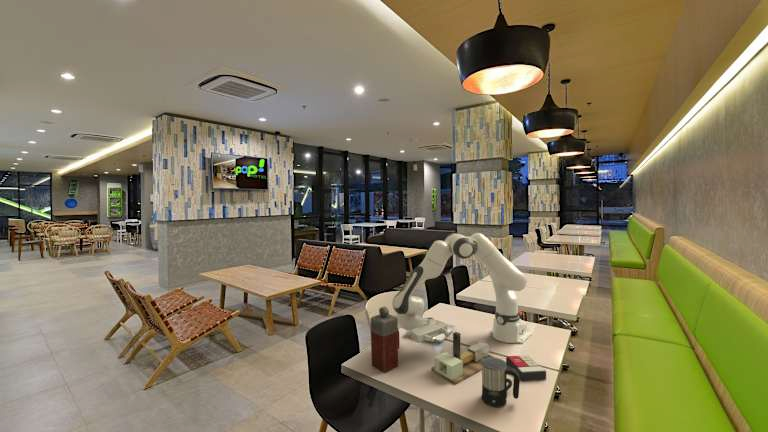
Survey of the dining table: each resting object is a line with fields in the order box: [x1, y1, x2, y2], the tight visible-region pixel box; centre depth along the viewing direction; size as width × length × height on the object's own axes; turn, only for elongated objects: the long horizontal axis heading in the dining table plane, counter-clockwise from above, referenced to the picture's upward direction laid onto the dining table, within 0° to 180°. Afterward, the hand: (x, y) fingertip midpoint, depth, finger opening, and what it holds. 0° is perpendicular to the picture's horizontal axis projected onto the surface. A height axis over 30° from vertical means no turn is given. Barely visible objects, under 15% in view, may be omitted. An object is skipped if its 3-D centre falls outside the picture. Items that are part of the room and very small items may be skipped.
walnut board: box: [431, 355, 494, 386], centre depth 151 cm, size 30×14×1 cm, turn 127°
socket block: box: [434, 351, 463, 380], centre depth 143 cm, size 7×10×6 cm
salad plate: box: [406, 323, 456, 343], centre depth 185 cm, size 21×21×3 cm
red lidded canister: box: [370, 305, 401, 374], centre depth 151 cm, size 9×11×28 cm
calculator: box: [505, 354, 547, 382], centre depth 146 cm, size 11×4×15 cm
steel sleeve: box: [466, 341, 491, 363], centre depth 156 cm, size 10×6×5 cm, turn 127°
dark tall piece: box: [445, 331, 475, 369], centre depth 148 cm, size 18×3×14 cm, turn 127°
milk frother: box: [481, 356, 521, 408], centre depth 129 cm, size 14×16×15 cm
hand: (441, 337), depth 153 cm, fingers open, 8 cm apart
